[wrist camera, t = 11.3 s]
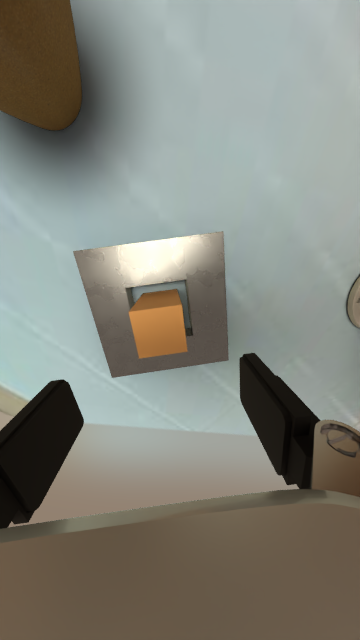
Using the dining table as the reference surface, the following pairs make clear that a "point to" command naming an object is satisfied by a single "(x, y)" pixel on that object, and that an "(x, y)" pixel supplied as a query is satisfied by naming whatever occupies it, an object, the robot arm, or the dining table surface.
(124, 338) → the grey square frame
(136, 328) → the orange rectangular block
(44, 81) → the plant pot
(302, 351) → the dining table surface
